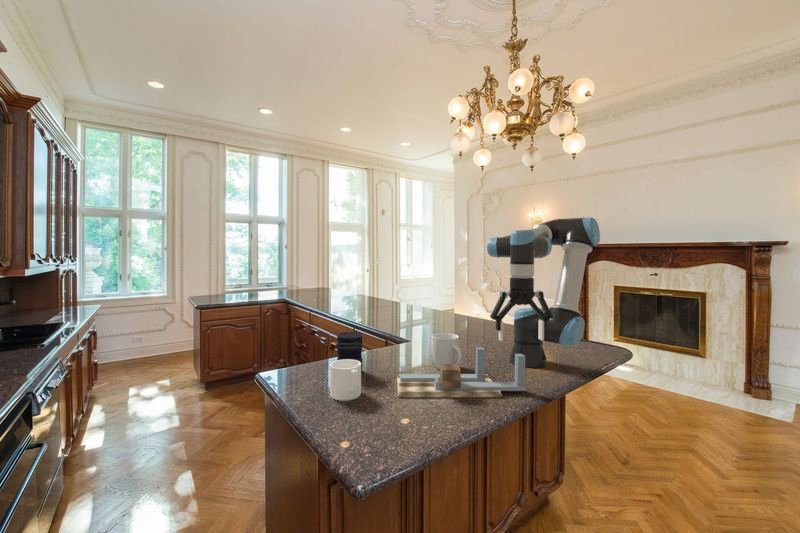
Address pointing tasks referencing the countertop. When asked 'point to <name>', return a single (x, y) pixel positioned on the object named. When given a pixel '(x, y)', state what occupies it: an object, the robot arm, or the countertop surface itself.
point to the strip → (502, 386)
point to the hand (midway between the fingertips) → (520, 340)
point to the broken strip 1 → (419, 377)
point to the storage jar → (350, 346)
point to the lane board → (429, 391)
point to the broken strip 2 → (476, 368)
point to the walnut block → (450, 376)
